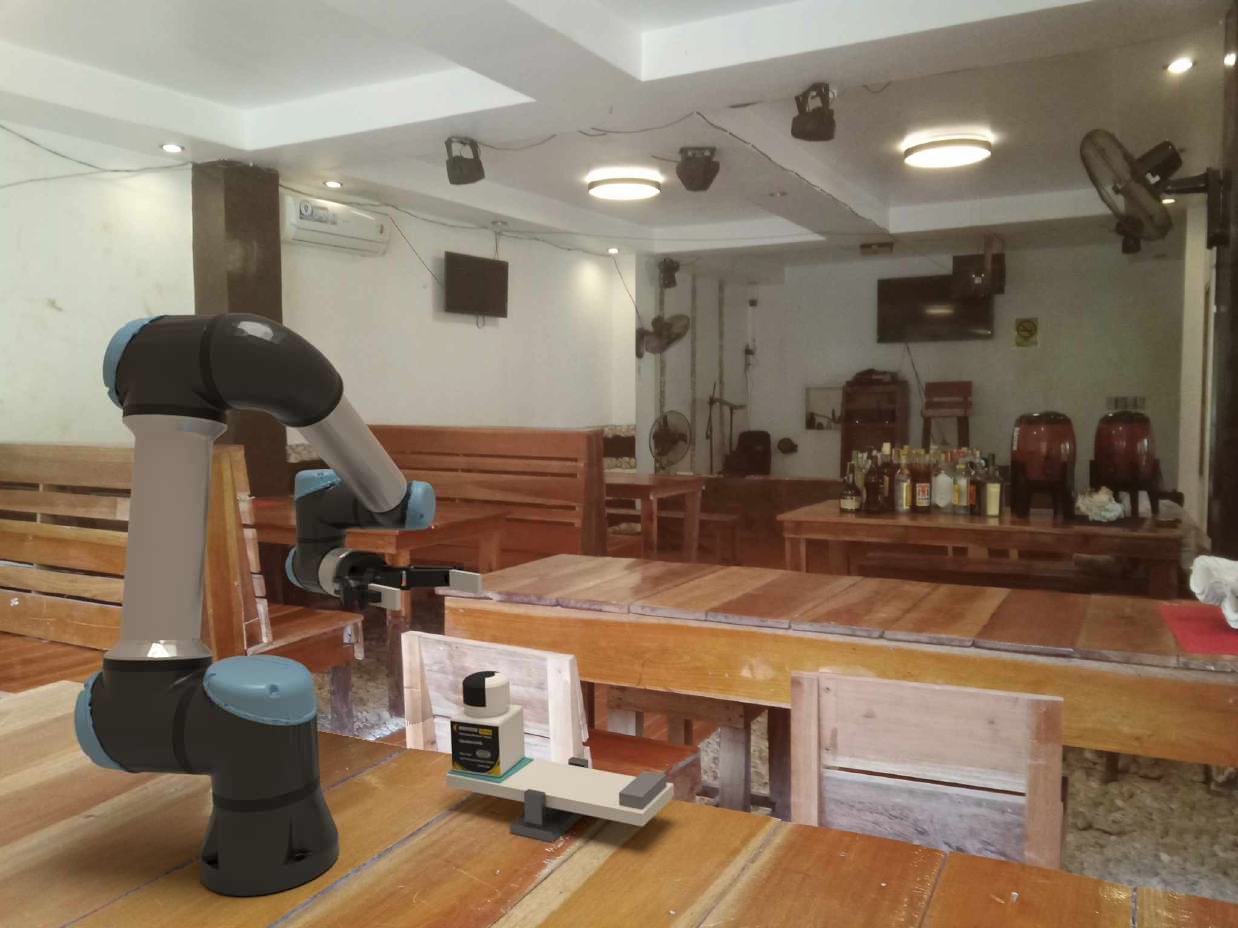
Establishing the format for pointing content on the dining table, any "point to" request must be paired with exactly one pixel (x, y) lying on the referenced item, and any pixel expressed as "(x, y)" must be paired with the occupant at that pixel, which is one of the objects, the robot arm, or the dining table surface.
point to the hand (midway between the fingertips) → (440, 591)
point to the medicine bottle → (487, 727)
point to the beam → (576, 789)
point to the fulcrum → (545, 814)
